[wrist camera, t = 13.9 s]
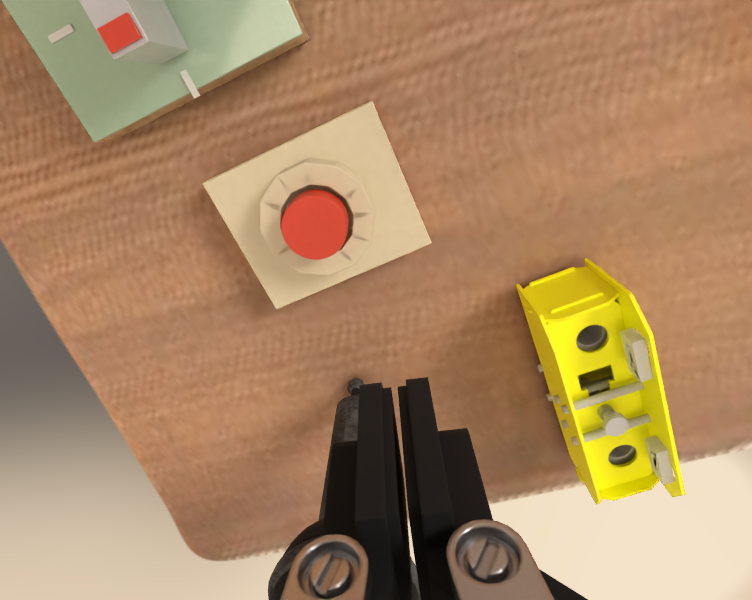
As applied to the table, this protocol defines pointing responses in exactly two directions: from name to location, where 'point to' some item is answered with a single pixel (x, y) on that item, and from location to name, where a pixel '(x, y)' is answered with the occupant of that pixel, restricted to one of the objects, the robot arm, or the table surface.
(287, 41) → the base
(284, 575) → the microphone
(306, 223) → the button
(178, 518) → the table surface
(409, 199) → the beige button housing
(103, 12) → the red-tabbed grey block
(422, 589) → the robot arm
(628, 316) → the yellow toy chassis
